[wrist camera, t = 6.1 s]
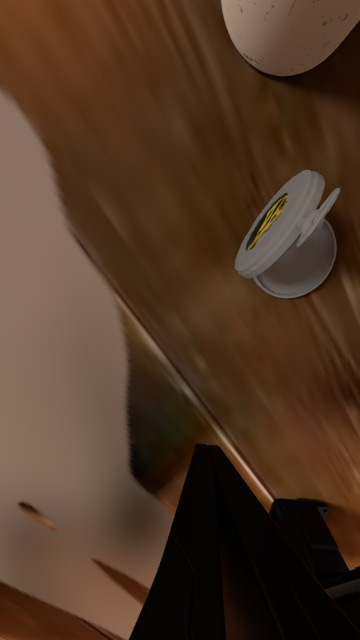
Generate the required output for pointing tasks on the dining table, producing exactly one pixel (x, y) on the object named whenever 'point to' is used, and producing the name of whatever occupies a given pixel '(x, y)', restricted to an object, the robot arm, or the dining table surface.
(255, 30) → the teacup with lid
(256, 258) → the pocket watch
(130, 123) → the dining table surface
